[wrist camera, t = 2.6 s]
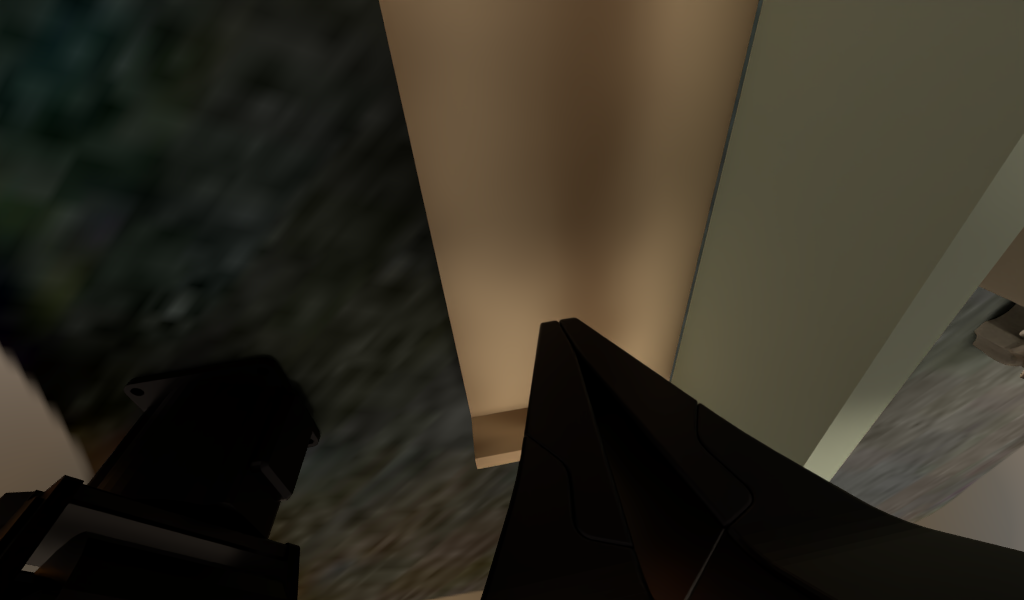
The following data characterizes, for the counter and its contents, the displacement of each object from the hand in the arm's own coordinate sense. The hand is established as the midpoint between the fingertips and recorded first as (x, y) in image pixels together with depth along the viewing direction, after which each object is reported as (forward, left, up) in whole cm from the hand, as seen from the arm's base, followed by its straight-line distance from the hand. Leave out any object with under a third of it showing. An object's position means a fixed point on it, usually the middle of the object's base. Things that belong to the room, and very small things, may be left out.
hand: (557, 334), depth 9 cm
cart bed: (+2, 0, -8) cm, 9 cm away
